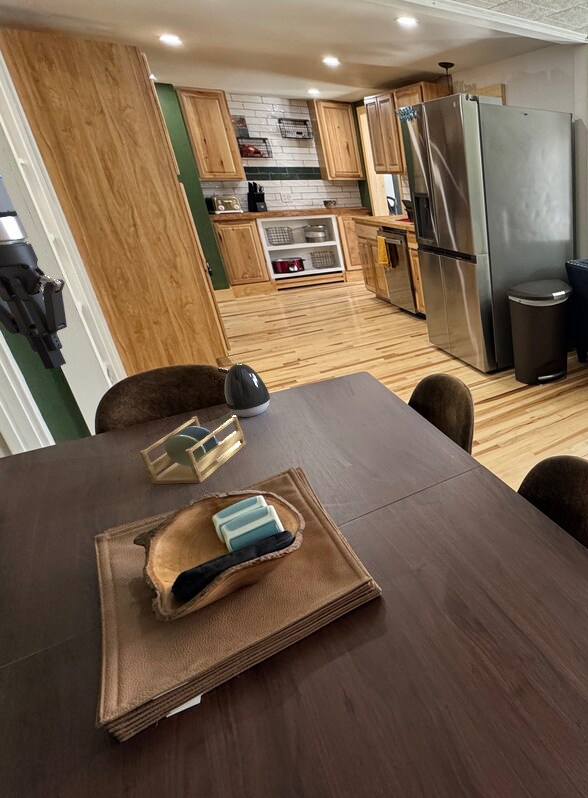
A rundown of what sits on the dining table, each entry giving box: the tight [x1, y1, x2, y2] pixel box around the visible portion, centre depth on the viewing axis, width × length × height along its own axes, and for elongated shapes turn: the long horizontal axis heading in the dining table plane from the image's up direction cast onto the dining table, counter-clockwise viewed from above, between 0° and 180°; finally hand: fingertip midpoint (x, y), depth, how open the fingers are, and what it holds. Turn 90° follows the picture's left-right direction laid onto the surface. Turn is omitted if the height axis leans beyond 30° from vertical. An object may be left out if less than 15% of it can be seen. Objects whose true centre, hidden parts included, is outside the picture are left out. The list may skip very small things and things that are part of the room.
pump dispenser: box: [216, 363, 271, 418], centre depth 134 cm, size 10×10×15 cm
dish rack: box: [139, 414, 247, 485], centre depth 109 cm, size 16×10×9 cm, turn 4°
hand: (56, 366), depth 92 cm, fingers closed
